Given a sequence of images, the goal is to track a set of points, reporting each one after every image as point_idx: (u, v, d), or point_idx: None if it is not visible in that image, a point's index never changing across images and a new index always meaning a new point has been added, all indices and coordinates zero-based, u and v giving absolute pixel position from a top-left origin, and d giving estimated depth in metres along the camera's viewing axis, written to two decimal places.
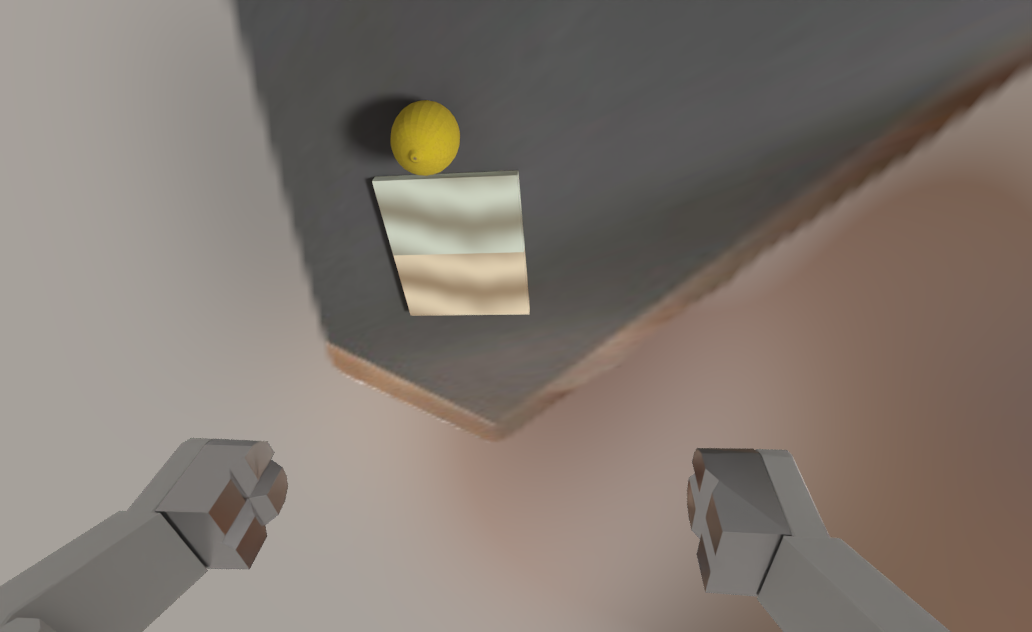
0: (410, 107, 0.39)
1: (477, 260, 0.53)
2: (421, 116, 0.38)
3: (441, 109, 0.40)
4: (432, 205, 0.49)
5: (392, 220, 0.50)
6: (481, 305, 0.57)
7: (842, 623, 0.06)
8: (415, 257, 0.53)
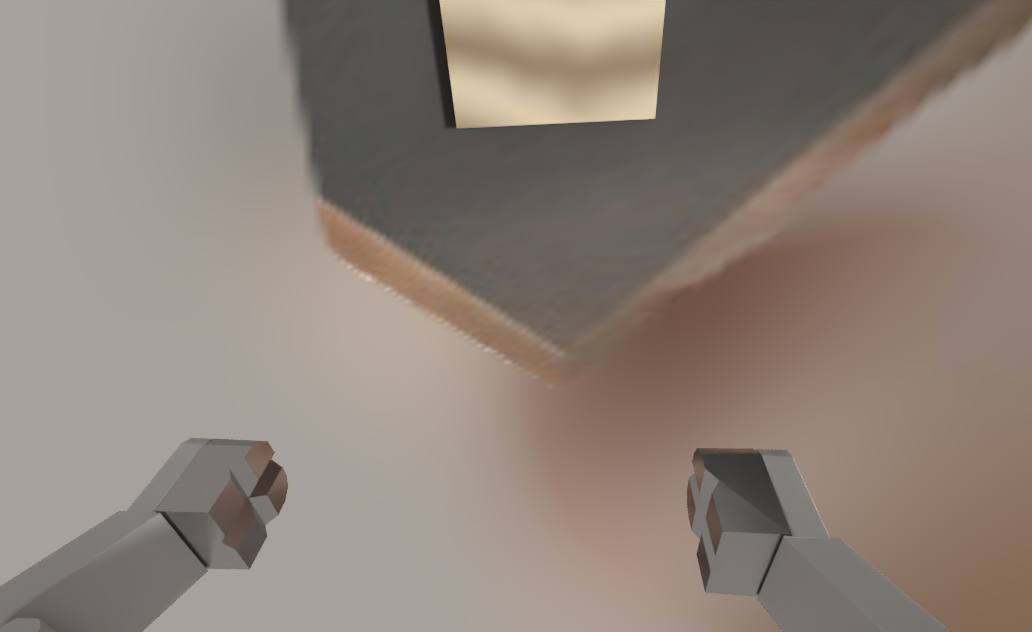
0: None
1: None
2: None
3: None
4: None
5: None
6: (576, 100, 0.34)
7: (842, 623, 0.06)
8: None
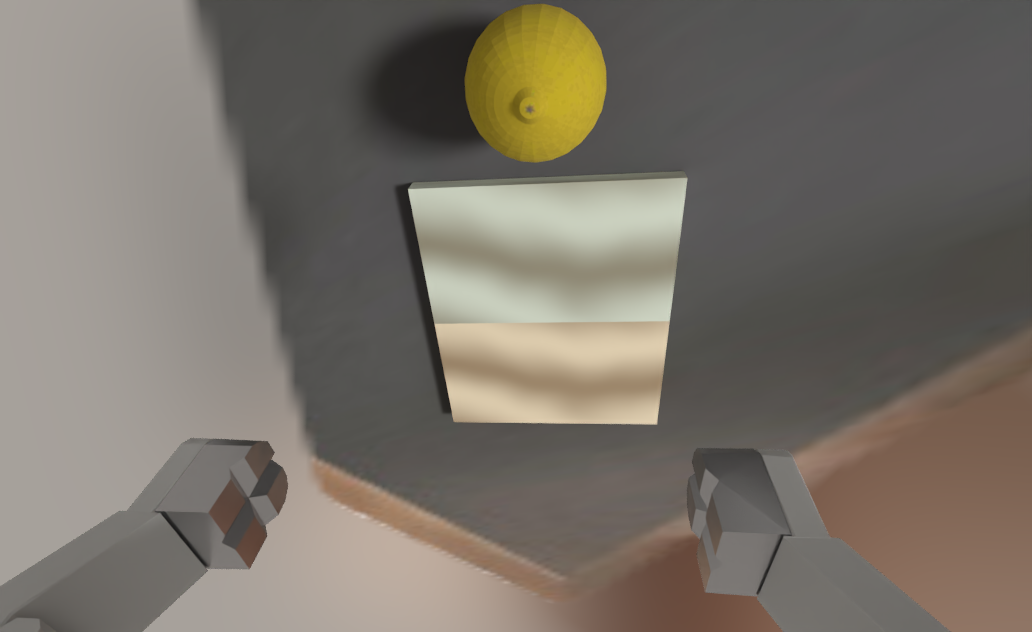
0: (514, 10, 0.18)
1: (583, 334, 0.30)
2: (545, 18, 0.17)
3: None
4: (515, 235, 0.27)
5: (439, 262, 0.28)
6: (576, 408, 0.33)
7: (842, 623, 0.06)
8: (473, 327, 0.30)
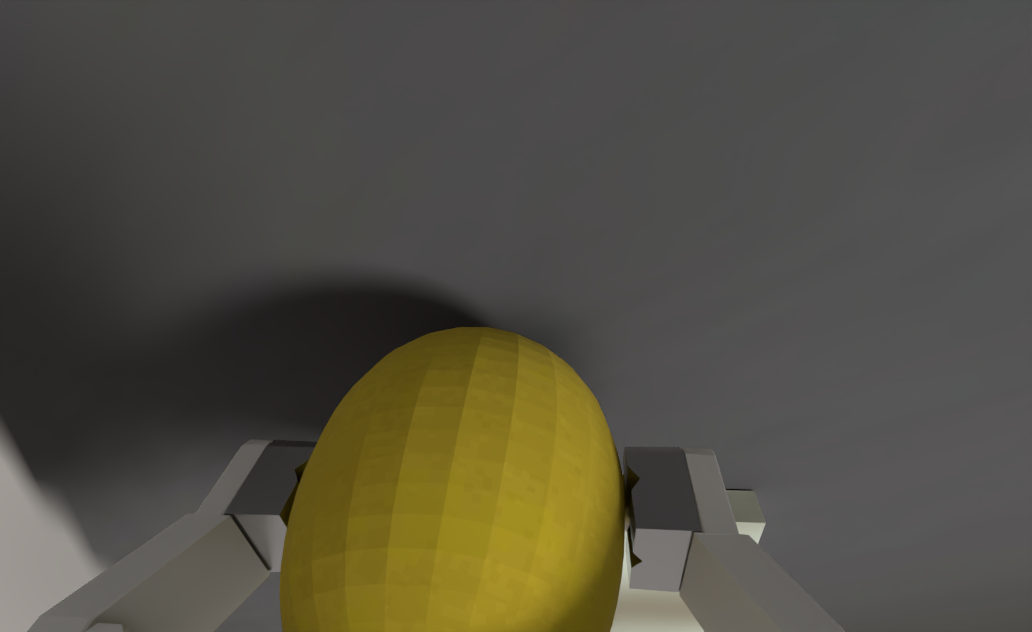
0: (394, 411, 0.07)
1: None
2: (458, 513, 0.06)
3: (558, 410, 0.07)
4: None
5: None
6: None
7: (744, 618, 0.07)
8: None
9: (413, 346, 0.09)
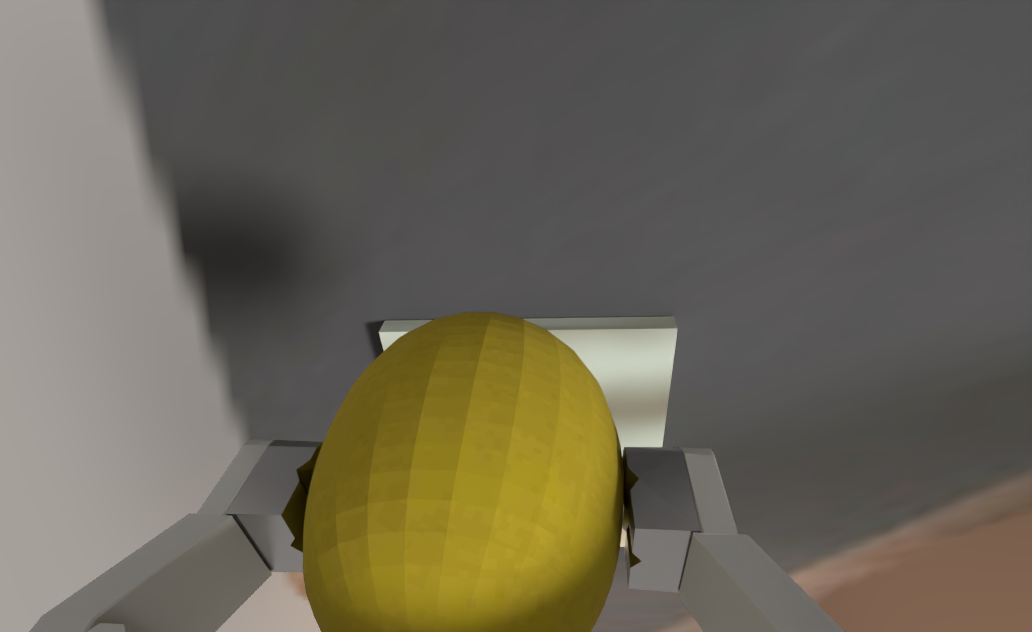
0: (410, 382, 0.08)
1: None
2: (471, 470, 0.07)
3: (562, 383, 0.08)
4: None
5: None
6: None
7: (742, 618, 0.07)
8: None
9: (426, 327, 0.09)
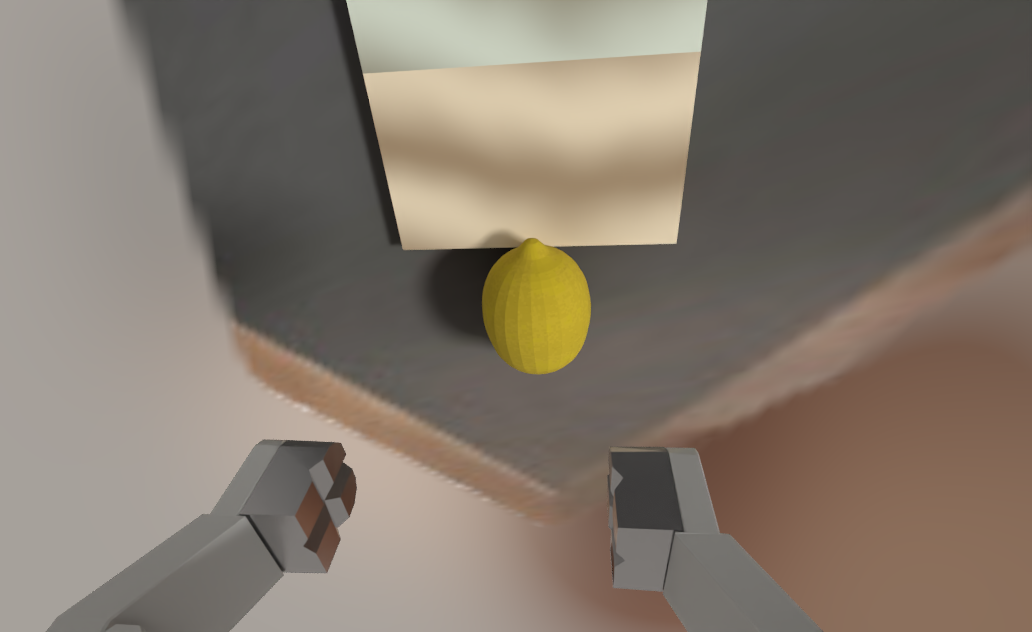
0: (526, 348, 0.24)
1: (574, 84, 0.21)
2: (551, 365, 0.25)
3: (574, 330, 0.24)
4: None
5: None
6: (566, 219, 0.24)
7: (723, 617, 0.07)
8: (417, 78, 0.21)
9: (520, 318, 0.23)
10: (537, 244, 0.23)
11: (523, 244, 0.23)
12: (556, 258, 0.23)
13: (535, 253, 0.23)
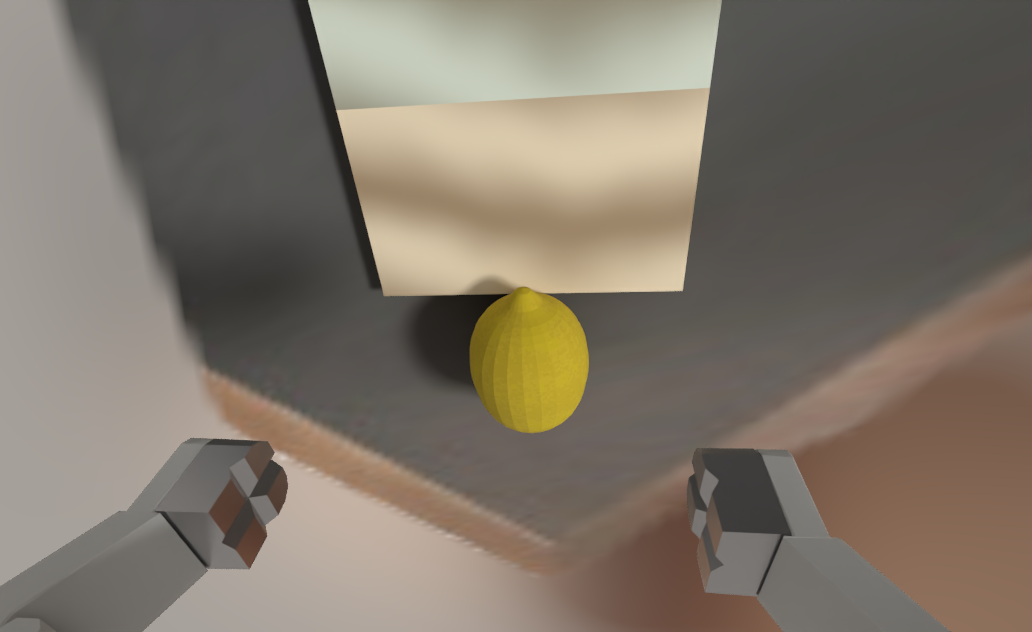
0: (517, 408, 0.21)
1: (570, 122, 0.19)
2: (546, 425, 0.22)
3: (570, 388, 0.21)
4: None
5: None
6: (562, 265, 0.22)
7: (842, 623, 0.06)
8: (396, 115, 0.19)
9: (509, 376, 0.21)
10: (529, 294, 0.21)
11: (514, 294, 0.21)
12: (550, 309, 0.21)
13: (526, 304, 0.21)
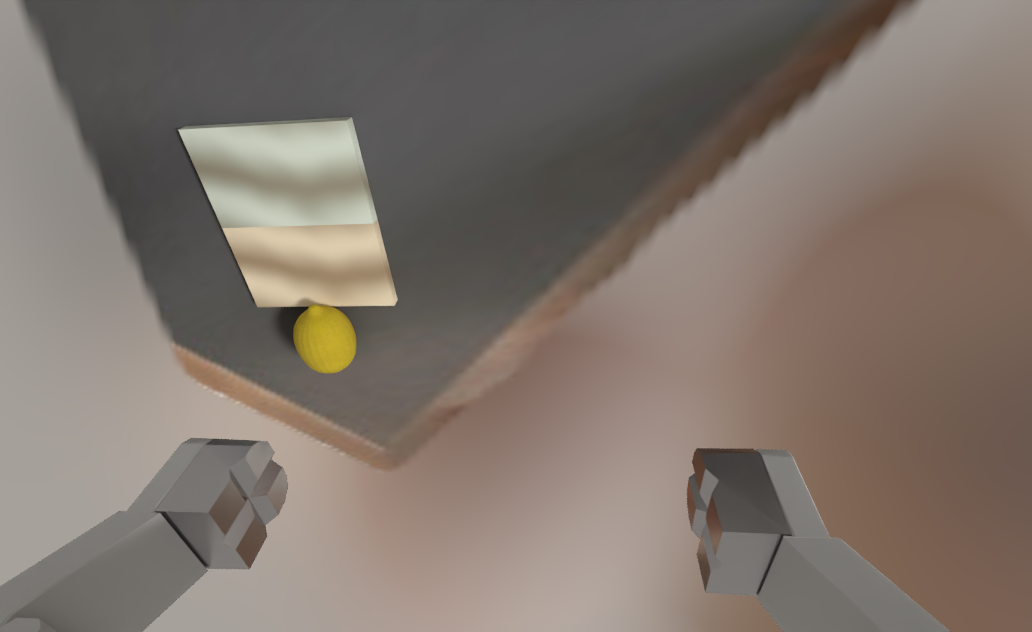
0: (312, 360, 0.47)
1: (321, 234, 0.44)
2: (329, 368, 0.48)
3: (336, 351, 0.47)
4: (254, 161, 0.40)
5: (212, 181, 0.42)
6: (336, 293, 0.47)
7: (842, 623, 0.06)
8: (248, 230, 0.44)
9: (304, 345, 0.46)
10: (315, 307, 0.46)
11: None
12: (325, 314, 0.46)
13: (313, 312, 0.46)
